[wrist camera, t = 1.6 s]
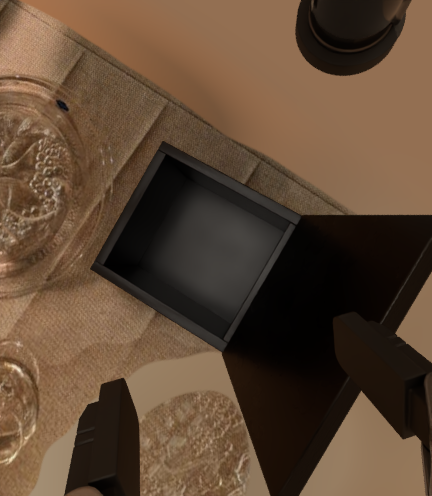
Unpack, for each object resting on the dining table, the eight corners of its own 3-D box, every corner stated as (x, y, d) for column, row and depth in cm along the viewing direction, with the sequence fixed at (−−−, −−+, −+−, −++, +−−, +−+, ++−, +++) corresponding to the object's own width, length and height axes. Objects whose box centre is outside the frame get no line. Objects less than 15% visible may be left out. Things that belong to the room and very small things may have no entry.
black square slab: (272, 505, 13) (290, 513, 13) (444, 213, 13) (460, 224, 13) (221, 354, 28) (229, 358, 28) (302, 214, 27) (310, 219, 28)
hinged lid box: (129, 268, 39) (89, 268, 30) (186, 169, 39) (162, 140, 30) (235, 334, 37) (226, 355, 28) (296, 229, 37) (305, 217, 28)
